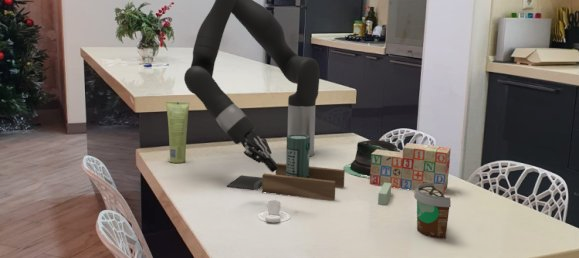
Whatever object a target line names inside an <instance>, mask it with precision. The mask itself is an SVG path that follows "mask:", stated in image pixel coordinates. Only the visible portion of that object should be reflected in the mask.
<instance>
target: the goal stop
mask: <svg viewBox="0 0 579 258" xmlns="http://www.w3.org/2000/svg"><path fill="white" fill-rule="evenodd" d="M391 184H392V183H384V184H383V186H381V188H380V190H378V191H379V192H378V196H377V204H378V205H382V206H386V205H387V203H388V201H389V199H390V196H391V194H392V187H391Z"/></svg>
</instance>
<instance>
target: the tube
mask: <svg viewBox="0 0 579 258" xmlns="http://www.w3.org/2000/svg"><path fill="white" fill-rule="evenodd" d="M165 106H166V115H167V123H168V137H169V138H168V142H169V143H168V144H169V161H170V162H171V163H174V164H181V163H185V162H186V159H187V158H186V156H187V155H186V153H187V152H186V150H187V133H188V121H189V120H188V119H189V118H188V117H189V109H190V102H188V101H187V102H186V101H185V102H184V101H167V100H166V101H165Z"/></svg>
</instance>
